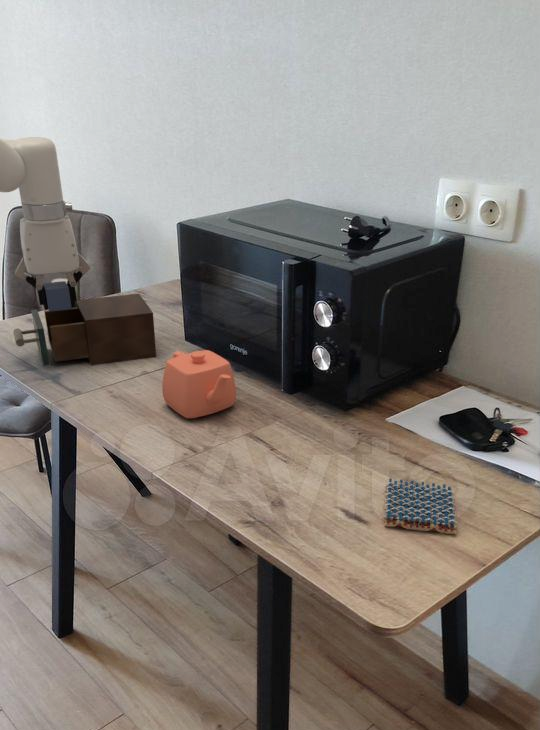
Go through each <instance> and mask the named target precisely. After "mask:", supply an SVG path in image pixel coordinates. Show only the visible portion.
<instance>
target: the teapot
mask: <svg viewBox="0 0 540 730" xmlns="http://www.w3.org/2000/svg"><path fill="white" fill-rule="evenodd" d="M161 387H162V389H161V390H162V392H161V393H162V397H163V399H164V401H165V403H166V405H167V406H168V407H170V408H171V409H172V410H174V411H175V412H176V413H177V414H179V415H181V416H182V417H184V418H186V419H196V418H199V417H204V416H208V415H212V414H215V413H218V412H220V411H223V410H226V409H229V408H230V407H232V406H233V405H234V404H235V401H236V398H237V387H236V381H235V376H234V372H233V368H232V366H231V362H229V361H228V360H227V359H225V358H224V357H222V356H221V355H219V354H217V353H215V352H214V351H212V350H209V349H203V350H196V351H192V352H189V353H184V352H183V351H181V350H176V351H174V352H173V353H172V358H170V359H168V360H166V361H165V366H164V370H163V375H162V386H161Z"/></svg>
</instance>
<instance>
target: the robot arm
mask: <svg viewBox="0 0 540 730" xmlns="http://www.w3.org/2000/svg"><path fill="white" fill-rule="evenodd" d="M58 160H59V159H58V154H57V148H56V145H55V143H54V141H53V140H52V139H50V138H47V137H42V136H41V137H40V136H38V137H37V136H33V137H32V136H30V137H20V138H18V139H3V138H0V193H11V192H14V191H16V190H17V189H18V191H19V197H20V202H21V203H20V204H21V209H22V215H23V217H22V218H20V219H19V234H20V235H19V236H20V237H19V238H20V245H21V253H22V258H21V259H20V262H19V263H18V265H17V268H15V271H14V275H15V276H16V277H17V278H19V279H21V280H22V281H25V282H26V283H28V284H29V285H31V286H32V287H33V288H34V289H36V291H37V297H38V302H39V305H40V306H43V309H44V311H47V310H48V303H47V297H46V291H45V289H44V286H43V283H44V275H54V274H63V273H64V274H65V276H66V279H68V281H67V286H68V288H69V294H70V301H71V306H72V307H74V301H77V300H78V297H77V298H76V291H75V286H76V287H77V284H78V282H79V281H80V280H81V279H82V278H83V276H84V275H85V274H87V273H88V272H89V271H90V270H91V265H90V263H88V262H87V261H86V259H84V257H83V256H82V255H81V254H80V252H78V246H77V240H76V236H75V233H74V229H73V224H72V221H71V219H70V216H69V215H67V214H68V212H69V211H73V204H72V202H68V201H67V202H66V201H65V200H64V196H63V188H62V182H61V175H60V168H59V161H58ZM25 271H26V272H25Z"/></svg>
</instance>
